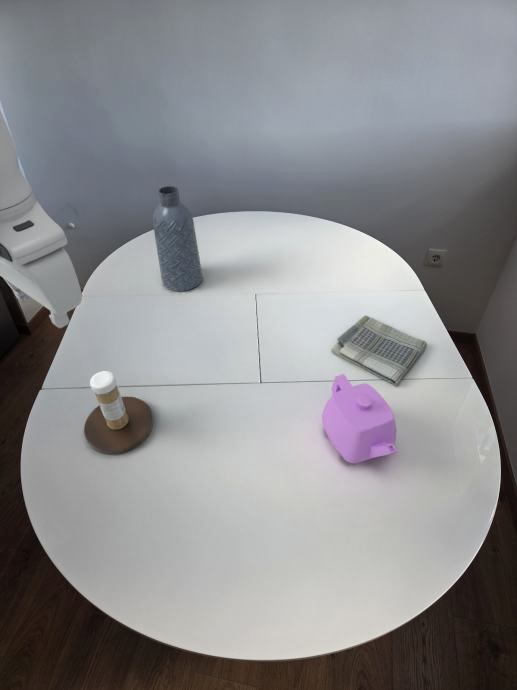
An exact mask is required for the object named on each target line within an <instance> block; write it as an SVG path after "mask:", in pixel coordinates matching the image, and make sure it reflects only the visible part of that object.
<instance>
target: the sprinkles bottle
mask: <svg viewBox="0 0 517 690" xmlns="http://www.w3.org/2000/svg"><path fill="white" fill-rule="evenodd" d="M89 386H90V388H91V391H92V392H93V393H94V395H95V397H96V400H97V402H98V406H99V405H100V408H101V410H102V413H103V415H104V417H105V419H106V421H107V425H108V427H109V428H111V429H113V430H115V429H116V430H117V429H121V428H123V427H124V426H126V424H127V423H128V420H129V417H128V415H127V413H126V411H125V406H124V404H123V401H122V398H121V397H122V396H121V393H120V390H119V388H118V386H117V380H116V377H115V375H114V374H113V372H111V371H107V370H103V371H98V372H97V373H95V374H93V375H92V376H91V378H90V379H89Z"/></svg>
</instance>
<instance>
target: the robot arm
mask: <svg viewBox="0 0 517 690" xmlns="http://www.w3.org/2000/svg"><path fill="white" fill-rule="evenodd" d="M66 245H68V239H67V236H66V233H65V231H64V230H63V228H62V227H61V226H60V225H59V224H58V223H57V222H55V221H54V220H53V219H52V218H51V216H49V215H48V214H47V213H46V211H45V210H44V209H43V207H42V205H41V204H40V203H39V201H38V200H37V199H36V197H35V194H34V192H33V188H32V186H31V185H30V183H29V182H28V180H27V179H26V178H25V176H24V174H23V172H22V170H21V168H20V163H19V154H18V149H17V147H16V145H15V142H14V139H13V136H12V135H11V132H10V129H9V127H8V125H7V122H6V121H5V118H4V115H3V113H2V112H1V110H0V277H1V278H3V280H4V281H5V282H6V284H7V285H8V286H9V287H10V288H11V289H12V292H13V294H14V295H15V297H16V299H18V300H19V301H20V302H22V303H25V302H28V301H29V300H31V299H33V300H34V301H36V302H37V303H39V305H41V306H43V307H44V308H46V309H47V310H49V312H50V314H49V315H48V317H49V319H50V321H51V324H53V325H54V326H55V327H57V328H58V329H63V328H64V327H66V326H68V325H69V324H70V318H69V316H68V313H69V312H70V311H71V310H74V309H76V308H77V307H79V306H80V305H81V304H82V300H83V294H82V288H81V286H80V283H79V280H78V276H77V273H76V270H75V267H74V264H73V262H72V260H71V259H72V258H71V257H70V256H69V254H68V252H67V250H66V249H65V248H64V246H66Z"/></svg>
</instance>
